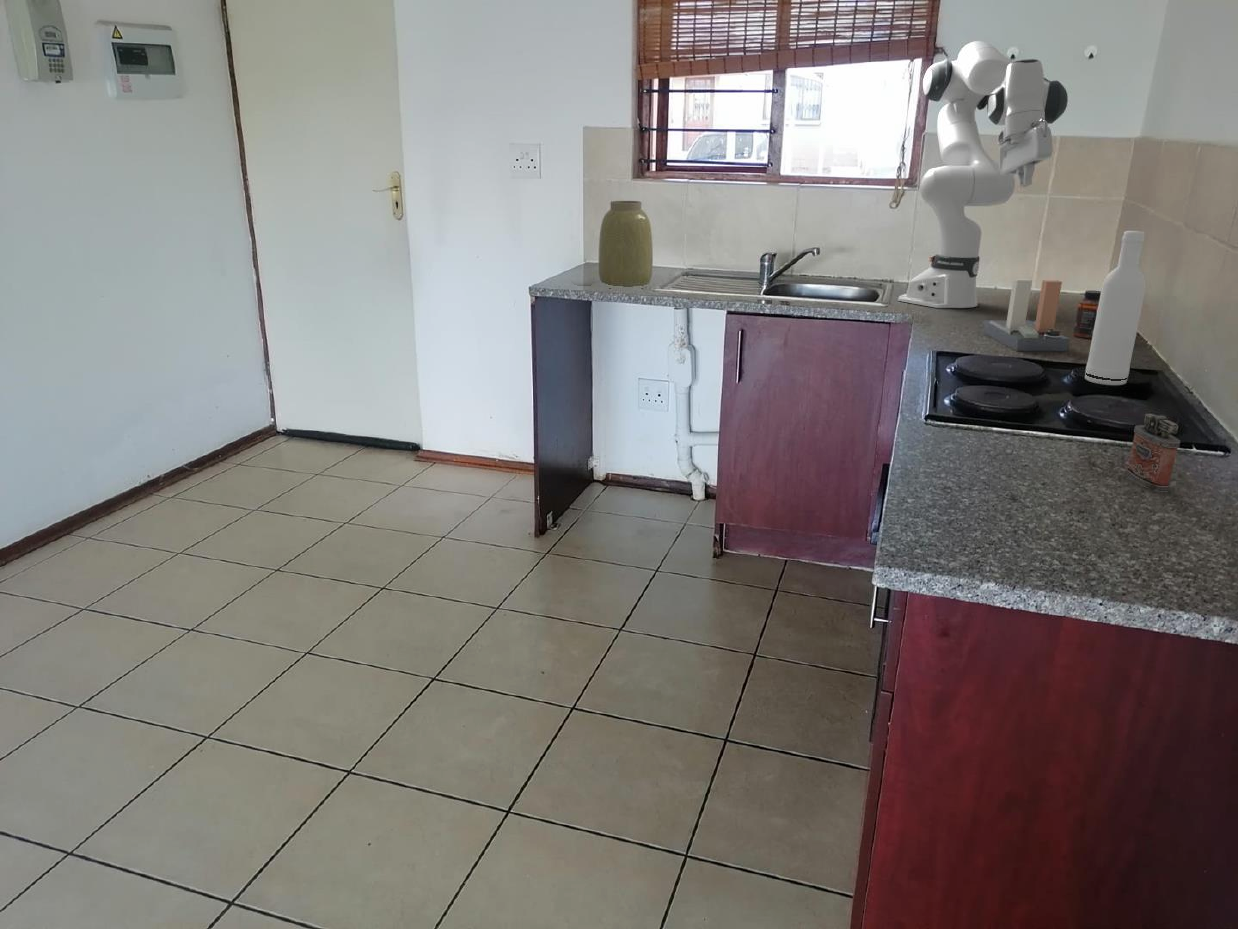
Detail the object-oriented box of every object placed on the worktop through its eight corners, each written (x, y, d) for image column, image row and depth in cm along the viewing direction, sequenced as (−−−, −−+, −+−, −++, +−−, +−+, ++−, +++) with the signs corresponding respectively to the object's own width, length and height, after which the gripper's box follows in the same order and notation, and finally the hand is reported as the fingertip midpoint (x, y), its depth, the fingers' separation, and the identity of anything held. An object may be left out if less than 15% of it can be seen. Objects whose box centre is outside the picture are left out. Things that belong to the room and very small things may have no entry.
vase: (593, 285, 297) (593, 200, 288) (644, 283, 301) (645, 199, 292) (605, 294, 281) (605, 204, 272) (658, 292, 285) (660, 203, 276)
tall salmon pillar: (1034, 330, 218) (1042, 280, 214) (1048, 330, 218) (1057, 280, 214) (1038, 332, 216) (1047, 281, 212) (1053, 332, 216) (1061, 281, 212)
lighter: (1119, 472, 137) (1132, 409, 133) (1140, 471, 137) (1154, 408, 134) (1152, 492, 129) (1167, 425, 126) (1175, 491, 130) (1191, 425, 126)
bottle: (1123, 377, 189) (1153, 230, 179) (1130, 387, 182) (1161, 234, 172) (1081, 374, 192) (1108, 228, 181) (1086, 383, 185) (1115, 232, 174)
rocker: (1018, 330, 214) (1019, 326, 214) (1030, 330, 214) (1032, 326, 214) (1024, 337, 211) (1025, 333, 210) (1037, 337, 211) (1038, 333, 210)
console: (981, 332, 231) (984, 314, 230) (1028, 332, 232) (1031, 315, 230) (1016, 351, 212) (1019, 332, 210) (1067, 351, 212) (1070, 332, 210)
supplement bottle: (1102, 339, 224) (1111, 293, 220) (1076, 338, 225) (1084, 292, 221) (1095, 334, 229) (1104, 289, 225) (1070, 333, 230) (1078, 288, 226)
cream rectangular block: (1005, 328, 220) (1013, 278, 216) (1019, 328, 220) (1027, 278, 216) (1009, 330, 218) (1017, 280, 214) (1024, 330, 218) (1032, 280, 214)
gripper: (1059, 115, 211) (1060, 176, 212) (1018, 138, 231) (1018, 193, 232) (1033, 116, 210) (1033, 177, 212) (993, 139, 231) (994, 195, 232)
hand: (1025, 186), depth 222 cm, fingers closed
